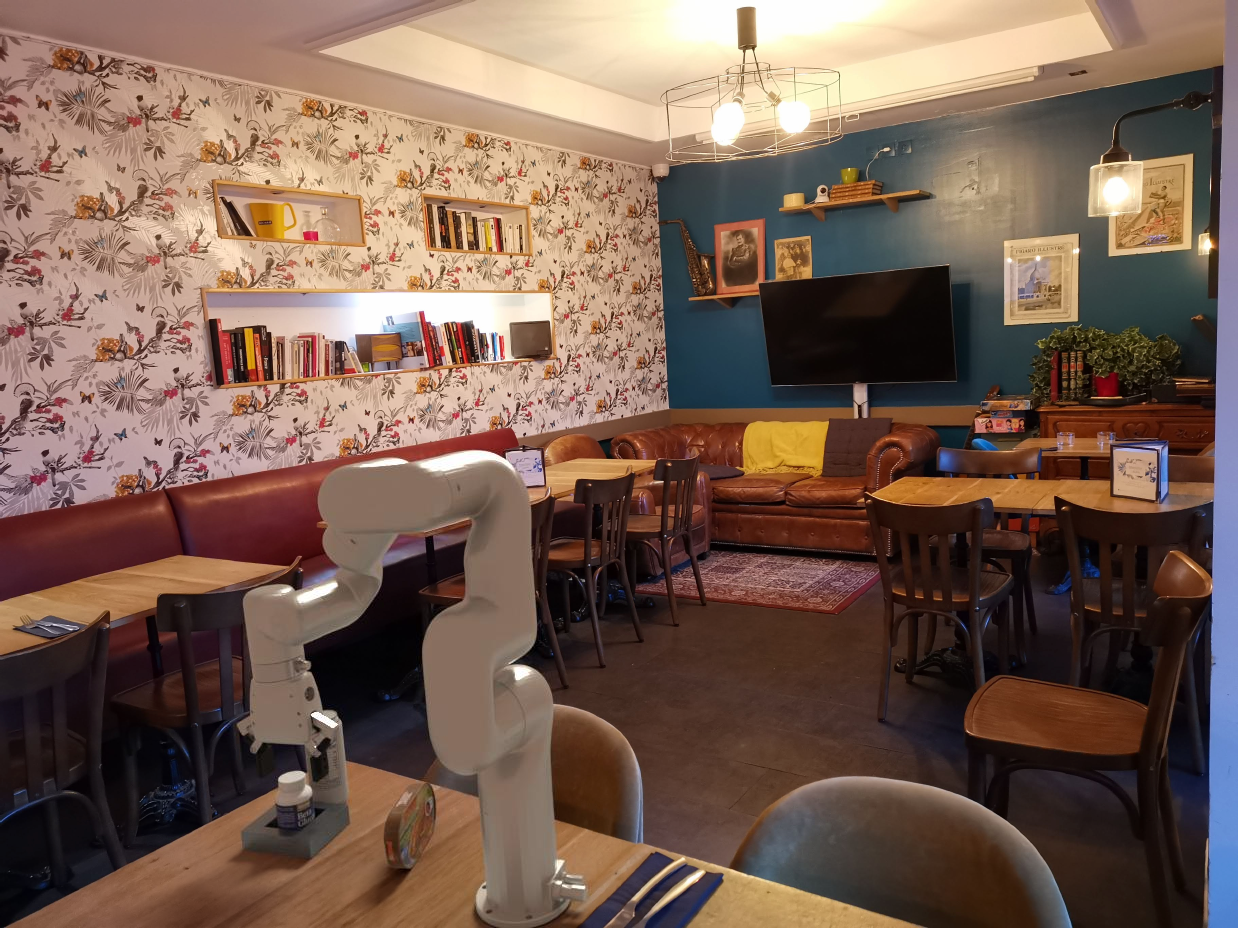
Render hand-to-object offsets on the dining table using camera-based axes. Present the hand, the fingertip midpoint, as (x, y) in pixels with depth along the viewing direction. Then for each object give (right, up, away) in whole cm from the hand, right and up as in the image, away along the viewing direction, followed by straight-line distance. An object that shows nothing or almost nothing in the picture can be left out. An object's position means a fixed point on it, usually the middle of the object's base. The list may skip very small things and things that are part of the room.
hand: (293, 776), depth 136 cm
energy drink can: (+2, -9, +12) cm, 14 cm away
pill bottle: (0, -10, +2) cm, 10 cm away
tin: (+19, -10, -4) cm, 22 cm away
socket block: (0, -10, +2) cm, 10 cm away
